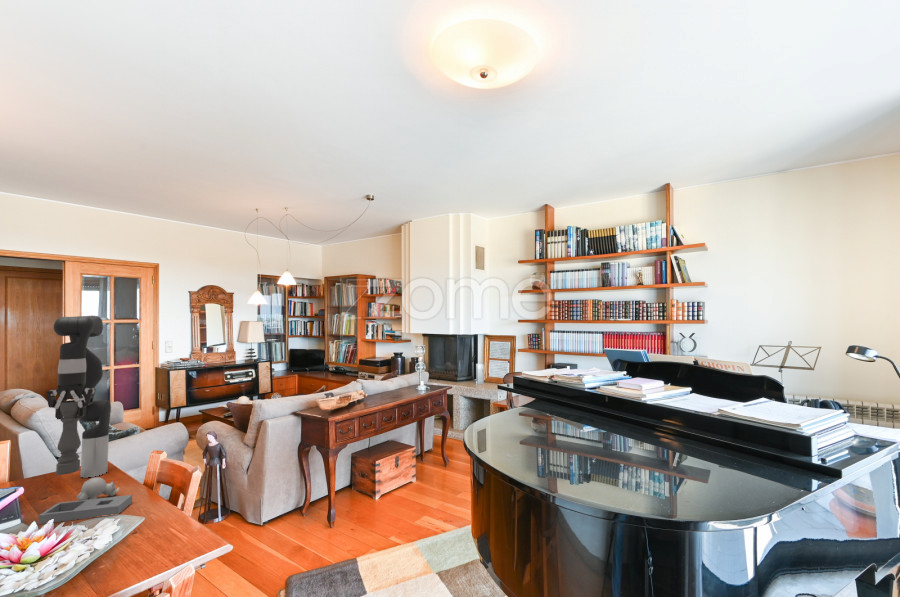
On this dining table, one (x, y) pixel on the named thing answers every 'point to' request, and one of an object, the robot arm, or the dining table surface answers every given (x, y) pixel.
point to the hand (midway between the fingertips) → (70, 418)
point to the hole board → (85, 509)
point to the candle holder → (69, 439)
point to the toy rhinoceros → (96, 489)
